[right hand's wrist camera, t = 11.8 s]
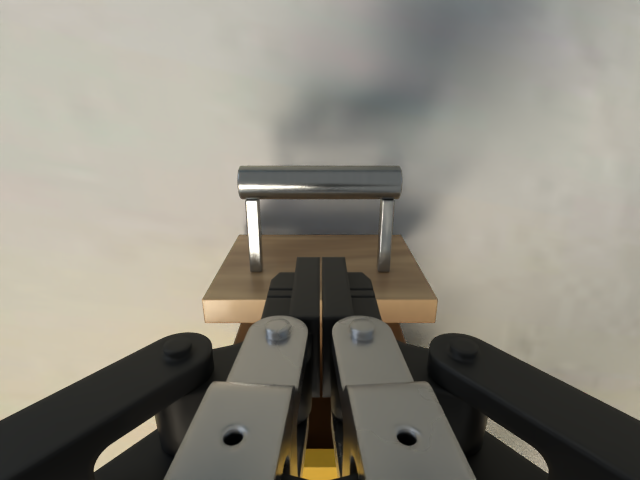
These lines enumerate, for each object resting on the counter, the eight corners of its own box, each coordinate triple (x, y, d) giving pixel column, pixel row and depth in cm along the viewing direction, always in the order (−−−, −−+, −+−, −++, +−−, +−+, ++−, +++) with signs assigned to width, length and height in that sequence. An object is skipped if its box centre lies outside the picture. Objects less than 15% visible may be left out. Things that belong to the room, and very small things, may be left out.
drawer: (232, 150, 23) (186, 179, 15) (407, 150, 23) (452, 179, 15) (255, 443, 31) (233, 561, 23) (384, 443, 31) (406, 561, 23)
